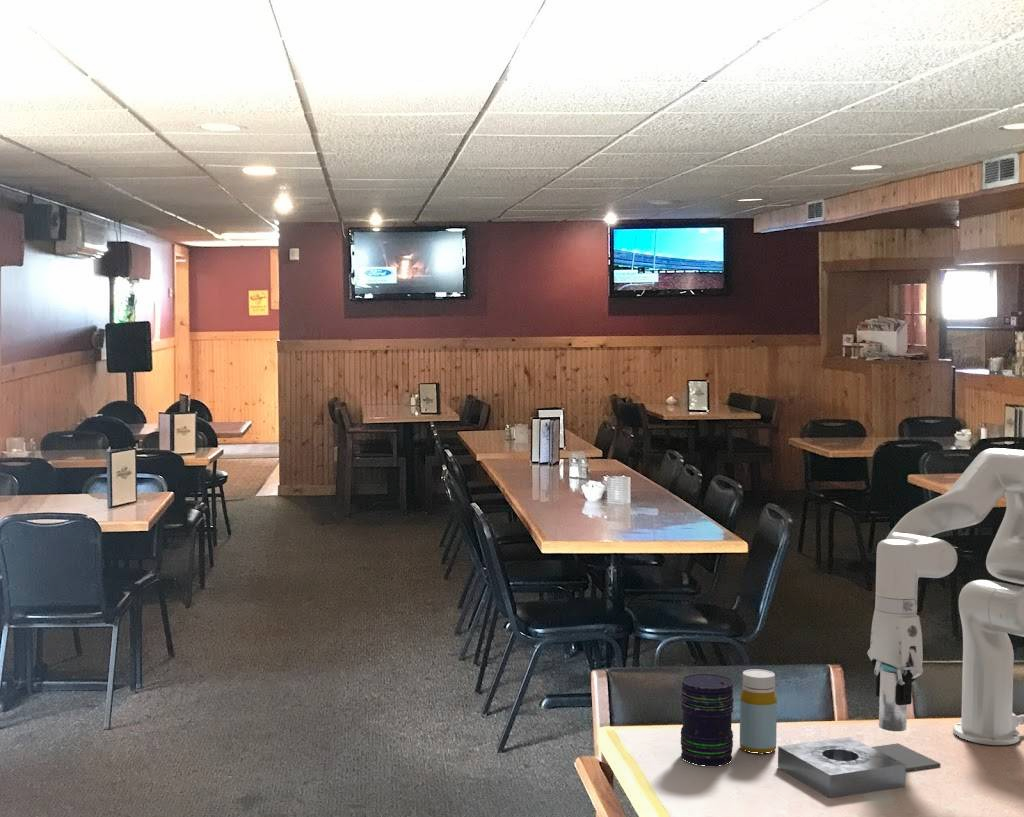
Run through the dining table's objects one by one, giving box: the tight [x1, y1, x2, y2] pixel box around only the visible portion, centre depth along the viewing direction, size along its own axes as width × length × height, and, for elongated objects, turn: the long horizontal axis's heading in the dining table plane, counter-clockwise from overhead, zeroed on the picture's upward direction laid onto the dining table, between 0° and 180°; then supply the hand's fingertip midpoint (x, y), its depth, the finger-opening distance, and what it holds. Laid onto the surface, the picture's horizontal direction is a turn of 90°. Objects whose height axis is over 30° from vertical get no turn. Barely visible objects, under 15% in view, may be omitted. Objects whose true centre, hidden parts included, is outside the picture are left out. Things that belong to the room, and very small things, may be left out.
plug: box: [878, 663, 908, 732], centre depth 222 cm, size 5×5×12 cm
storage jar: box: [680, 673, 734, 767], centre depth 223 cm, size 10×10×15 cm
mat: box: [870, 742, 941, 772], centre depth 223 cm, size 12×12×1 cm
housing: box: [777, 736, 906, 799], centre depth 214 cm, size 16×16×4 cm
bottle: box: [739, 668, 778, 753], centre depth 228 cm, size 7×7×15 cm
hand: (893, 699), depth 222 cm, fingers closed on plug, 5 cm apart
